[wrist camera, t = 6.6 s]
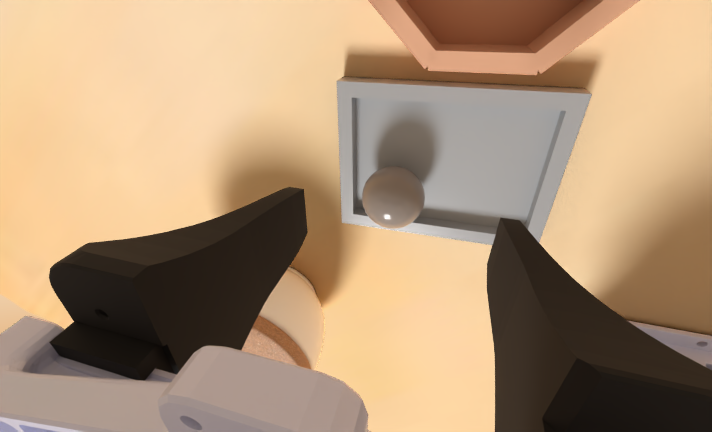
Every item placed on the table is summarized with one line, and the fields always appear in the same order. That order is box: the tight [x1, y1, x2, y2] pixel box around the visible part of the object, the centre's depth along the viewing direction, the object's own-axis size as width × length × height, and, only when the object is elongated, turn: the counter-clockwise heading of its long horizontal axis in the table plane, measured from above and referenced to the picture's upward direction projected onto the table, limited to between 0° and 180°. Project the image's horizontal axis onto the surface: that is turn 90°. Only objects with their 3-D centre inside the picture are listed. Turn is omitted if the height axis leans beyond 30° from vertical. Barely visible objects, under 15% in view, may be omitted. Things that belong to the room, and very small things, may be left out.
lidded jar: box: [241, 267, 325, 371], centre depth 26 cm, size 11×11×9 cm
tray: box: [337, 77, 592, 245], centre depth 20 cm, size 12×9×1 cm
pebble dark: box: [362, 166, 425, 229], centre depth 20 cm, size 4×4×4 cm
